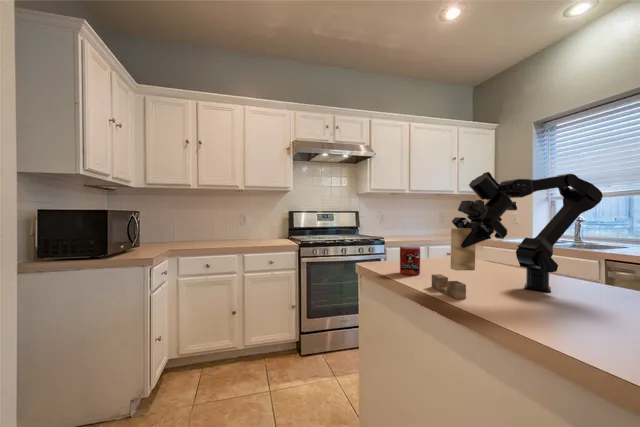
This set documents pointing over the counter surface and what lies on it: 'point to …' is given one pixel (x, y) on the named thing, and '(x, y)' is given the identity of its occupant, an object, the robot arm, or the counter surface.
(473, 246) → the beige tall block
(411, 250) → the canned food
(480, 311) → the counter surface
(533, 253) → the robot arm
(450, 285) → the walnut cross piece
